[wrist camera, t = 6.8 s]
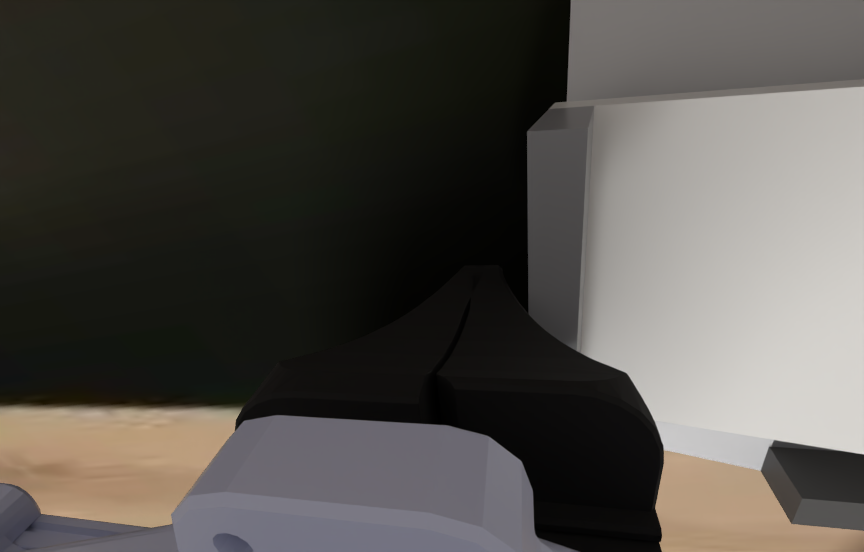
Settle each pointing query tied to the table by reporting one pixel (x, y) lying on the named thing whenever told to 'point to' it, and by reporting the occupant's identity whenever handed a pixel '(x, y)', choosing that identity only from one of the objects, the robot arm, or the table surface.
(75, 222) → the table surface
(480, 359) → the robot arm
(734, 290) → the grey angled piece
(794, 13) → the dock
